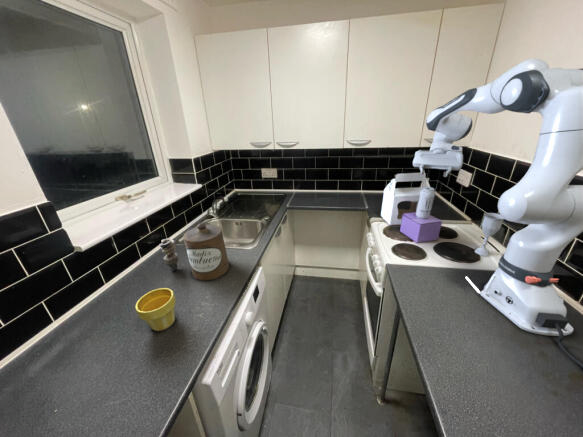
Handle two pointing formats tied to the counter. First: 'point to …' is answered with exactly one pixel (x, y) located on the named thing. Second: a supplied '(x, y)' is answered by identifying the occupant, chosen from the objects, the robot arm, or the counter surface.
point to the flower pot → (157, 308)
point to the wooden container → (206, 251)
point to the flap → (427, 220)
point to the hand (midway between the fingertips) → (433, 175)
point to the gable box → (401, 197)
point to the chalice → (489, 230)
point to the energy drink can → (425, 202)
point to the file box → (419, 228)
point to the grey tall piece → (169, 253)
